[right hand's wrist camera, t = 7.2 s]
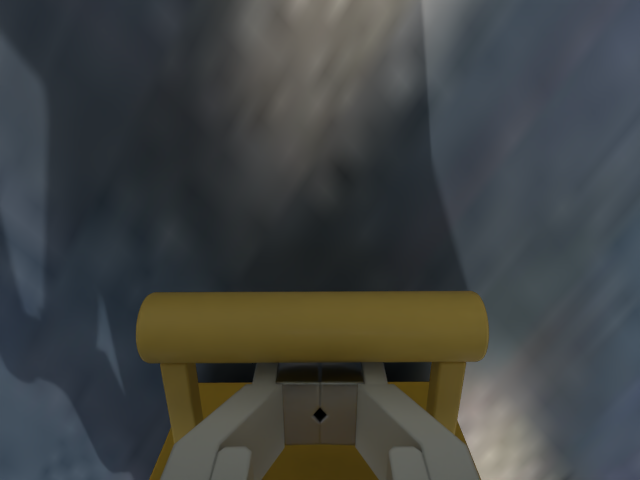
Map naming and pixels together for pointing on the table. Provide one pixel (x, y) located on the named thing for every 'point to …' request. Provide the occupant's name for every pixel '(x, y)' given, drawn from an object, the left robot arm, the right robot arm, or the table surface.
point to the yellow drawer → (309, 354)
